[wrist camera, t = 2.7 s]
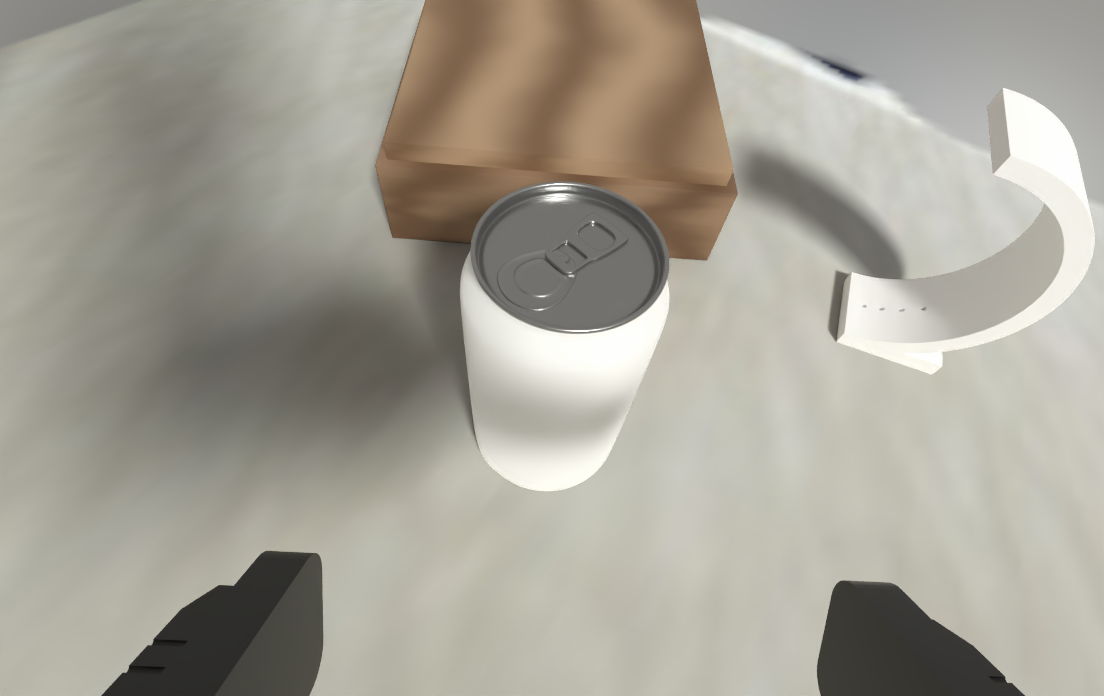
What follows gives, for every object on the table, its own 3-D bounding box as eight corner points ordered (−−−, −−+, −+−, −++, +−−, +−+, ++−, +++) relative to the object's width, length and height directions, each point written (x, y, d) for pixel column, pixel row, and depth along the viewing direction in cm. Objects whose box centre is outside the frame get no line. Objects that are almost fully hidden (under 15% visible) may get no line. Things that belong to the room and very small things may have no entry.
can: (445, 422, 25) (405, 239, 15) (546, 343, 28) (569, 143, 18) (542, 526, 23) (572, 393, 13) (642, 430, 26) (730, 257, 16)
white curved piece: (843, 281, 32) (1002, 87, 22) (951, 317, 31) (1168, 132, 21) (835, 342, 29) (1009, 155, 19) (952, 382, 29) (1197, 209, 18)
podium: (392, 237, 31) (371, 147, 26) (437, 58, 41) (428, -32, 36) (706, 260, 32) (745, 177, 27) (677, 79, 42) (701, -6, 36)
